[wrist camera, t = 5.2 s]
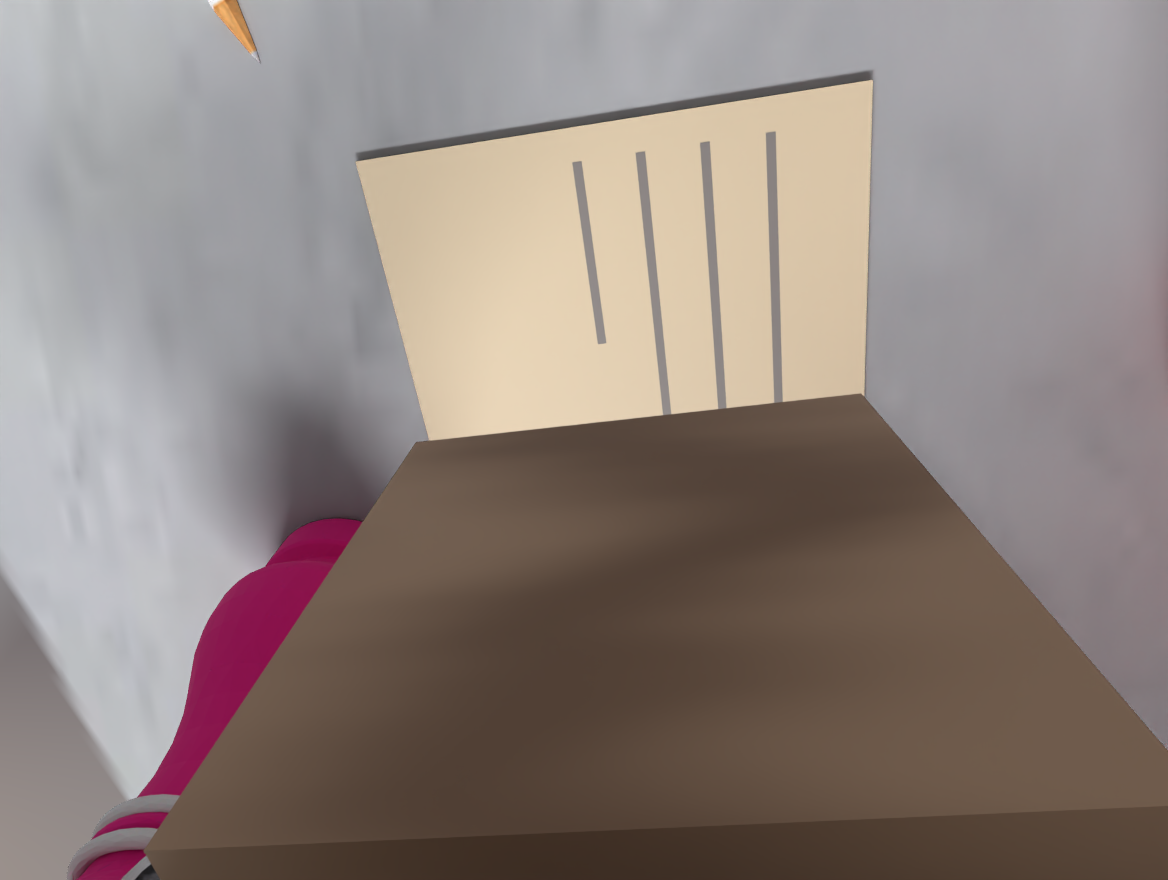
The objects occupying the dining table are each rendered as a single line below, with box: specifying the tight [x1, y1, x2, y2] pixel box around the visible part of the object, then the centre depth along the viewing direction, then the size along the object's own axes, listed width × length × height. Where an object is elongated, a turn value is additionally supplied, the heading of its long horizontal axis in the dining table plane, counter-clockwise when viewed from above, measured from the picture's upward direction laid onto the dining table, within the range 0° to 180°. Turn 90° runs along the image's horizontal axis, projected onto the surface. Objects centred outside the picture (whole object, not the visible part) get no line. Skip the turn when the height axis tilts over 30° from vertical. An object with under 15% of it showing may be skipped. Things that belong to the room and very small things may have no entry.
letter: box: [356, 80, 873, 441], centre depth 24 cm, size 16×12×1 cm
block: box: [144, 393, 1168, 880], centre depth 8 cm, size 6×6×6 cm
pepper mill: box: [67, 518, 362, 880], centre depth 21 cm, size 7×7×20 cm
